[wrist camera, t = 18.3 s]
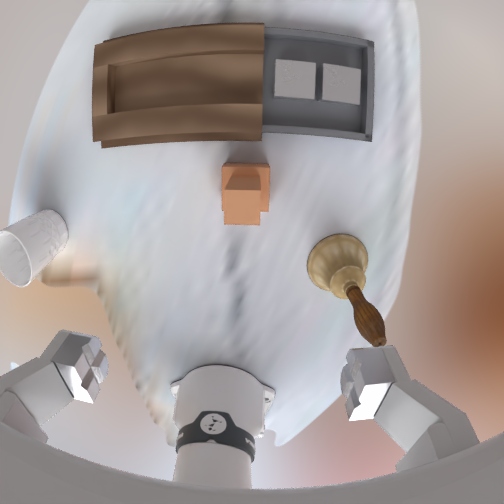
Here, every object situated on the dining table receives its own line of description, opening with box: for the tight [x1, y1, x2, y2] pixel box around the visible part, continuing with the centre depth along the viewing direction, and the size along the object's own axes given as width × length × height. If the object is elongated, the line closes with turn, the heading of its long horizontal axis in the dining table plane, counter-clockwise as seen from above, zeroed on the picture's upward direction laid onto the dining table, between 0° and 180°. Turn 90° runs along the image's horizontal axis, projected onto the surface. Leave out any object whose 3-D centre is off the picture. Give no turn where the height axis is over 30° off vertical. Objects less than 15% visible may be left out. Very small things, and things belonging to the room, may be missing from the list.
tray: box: [262, 27, 374, 142], centre depth 27 cm, size 12×12×2 cm
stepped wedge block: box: [222, 163, 270, 225], centre depth 29 cm, size 5×5×10 cm
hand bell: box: [307, 234, 386, 347], centre depth 30 cm, size 8×8×16 cm
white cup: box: [0, 209, 68, 287], centre depth 32 cm, size 8×8×10 cm
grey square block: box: [316, 63, 361, 106], centre depth 26 cm, size 4×4×3 cm
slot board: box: [92, 23, 264, 148], centre depth 27 cm, size 14×19×3 cm
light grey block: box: [273, 59, 316, 101], centre depth 26 cm, size 4×4×3 cm
